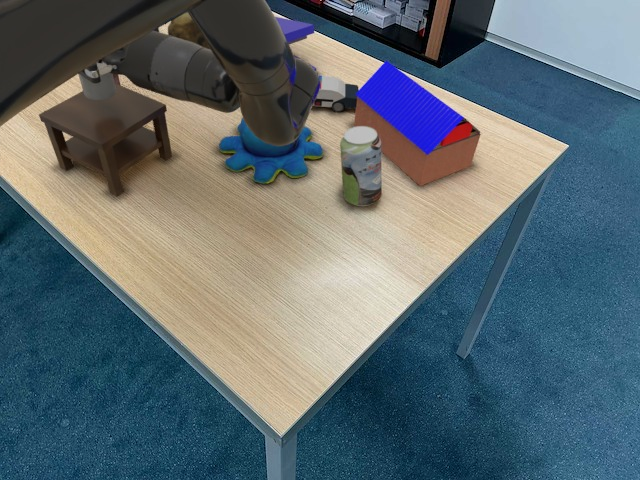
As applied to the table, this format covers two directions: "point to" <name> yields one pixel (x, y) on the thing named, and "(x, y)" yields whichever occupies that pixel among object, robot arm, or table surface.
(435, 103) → the house
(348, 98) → the toy car
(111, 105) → the plant stand
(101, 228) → the table surface
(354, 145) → the beverage can
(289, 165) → the plush toy
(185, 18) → the sculpture
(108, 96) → the planter
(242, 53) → the robot arm
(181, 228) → the table surface
